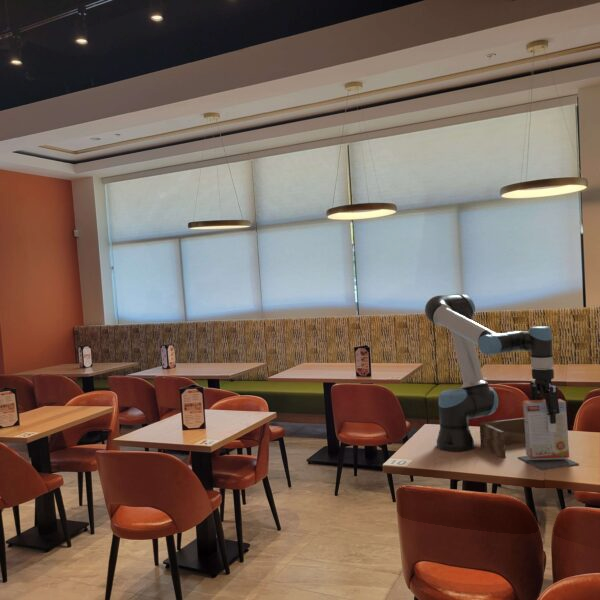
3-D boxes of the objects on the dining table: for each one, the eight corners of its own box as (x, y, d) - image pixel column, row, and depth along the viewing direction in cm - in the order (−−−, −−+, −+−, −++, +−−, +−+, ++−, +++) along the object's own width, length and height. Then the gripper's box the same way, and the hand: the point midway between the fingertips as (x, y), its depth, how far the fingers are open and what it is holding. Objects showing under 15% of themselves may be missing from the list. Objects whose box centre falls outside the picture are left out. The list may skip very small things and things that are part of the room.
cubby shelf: (480, 446, 238) (479, 422, 238) (541, 439, 243) (539, 416, 243) (502, 457, 221) (500, 432, 221) (566, 449, 226) (564, 424, 226)
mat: (518, 458, 220) (518, 456, 220) (553, 453, 223) (553, 452, 223) (541, 469, 205) (541, 468, 205) (578, 465, 208) (578, 463, 208)
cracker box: (563, 453, 216) (561, 398, 216) (569, 458, 210) (566, 401, 210) (525, 454, 218) (522, 399, 217) (530, 459, 212) (527, 403, 211)
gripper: (568, 370, 204) (572, 434, 205) (536, 364, 224) (539, 422, 224) (549, 372, 203) (552, 437, 203) (518, 365, 222) (521, 424, 223)
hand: (545, 429), depth 214 cm, fingers closed on cracker box, 7 cm apart
